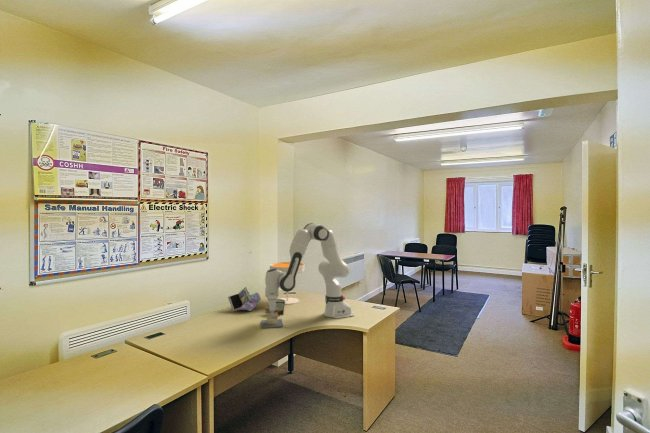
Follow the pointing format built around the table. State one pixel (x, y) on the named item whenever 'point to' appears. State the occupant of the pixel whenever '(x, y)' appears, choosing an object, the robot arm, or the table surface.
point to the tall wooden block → (273, 318)
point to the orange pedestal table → (283, 268)
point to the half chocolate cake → (280, 306)
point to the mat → (265, 325)
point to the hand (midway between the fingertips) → (272, 313)
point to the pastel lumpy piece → (244, 300)
